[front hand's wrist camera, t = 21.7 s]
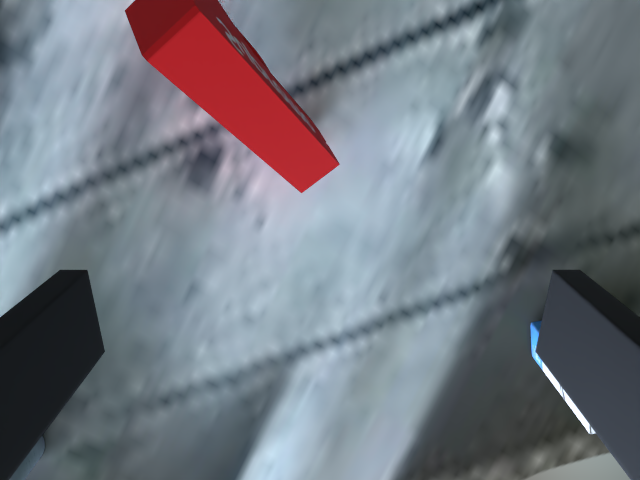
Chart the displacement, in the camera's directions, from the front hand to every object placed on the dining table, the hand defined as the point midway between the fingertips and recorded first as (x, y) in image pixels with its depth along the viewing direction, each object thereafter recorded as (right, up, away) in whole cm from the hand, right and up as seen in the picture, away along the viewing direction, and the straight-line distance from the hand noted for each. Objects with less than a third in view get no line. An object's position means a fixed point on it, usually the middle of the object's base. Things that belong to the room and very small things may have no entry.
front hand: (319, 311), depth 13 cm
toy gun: (-6, +17, +27) cm, 32 cm away
